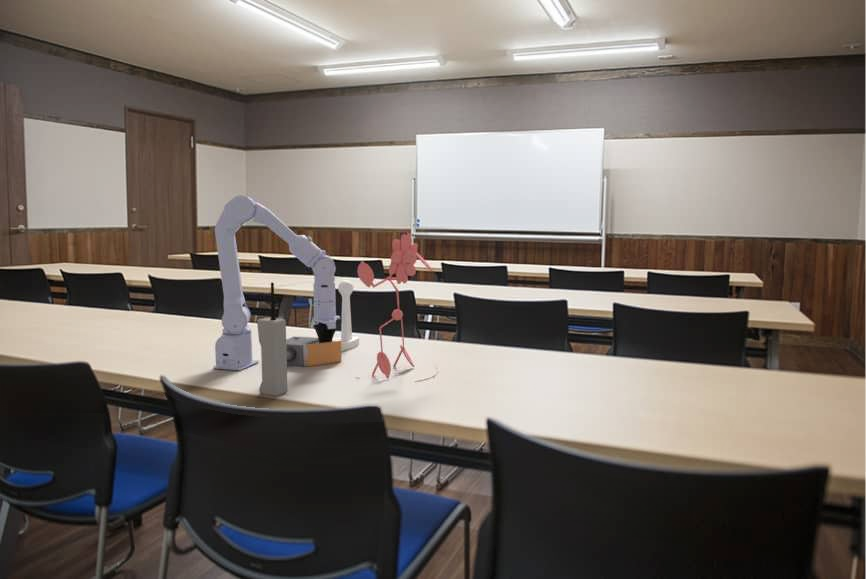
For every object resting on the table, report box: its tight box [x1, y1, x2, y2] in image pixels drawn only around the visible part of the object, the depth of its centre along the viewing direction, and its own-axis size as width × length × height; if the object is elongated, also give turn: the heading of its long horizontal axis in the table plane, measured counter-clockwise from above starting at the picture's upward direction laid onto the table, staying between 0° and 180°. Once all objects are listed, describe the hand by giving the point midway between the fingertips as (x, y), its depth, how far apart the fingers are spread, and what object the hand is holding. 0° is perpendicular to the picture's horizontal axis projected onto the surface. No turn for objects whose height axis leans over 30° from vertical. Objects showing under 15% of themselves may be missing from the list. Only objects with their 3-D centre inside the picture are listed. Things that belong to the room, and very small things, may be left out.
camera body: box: [286, 335, 319, 367], centre depth 173 cm, size 12×8×6 cm
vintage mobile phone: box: [256, 282, 289, 397], centre depth 142 cm, size 4×5×25 cm
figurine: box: [355, 233, 439, 383], centre depth 158 cm, size 15×26×35 cm, turn 148°
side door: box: [303, 341, 342, 368], centre depth 170 cm, size 10×1×6 cm, turn 124°
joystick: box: [332, 279, 360, 352], centre depth 189 cm, size 11×8×20 cm
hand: (325, 350), depth 172 cm, fingers closed
